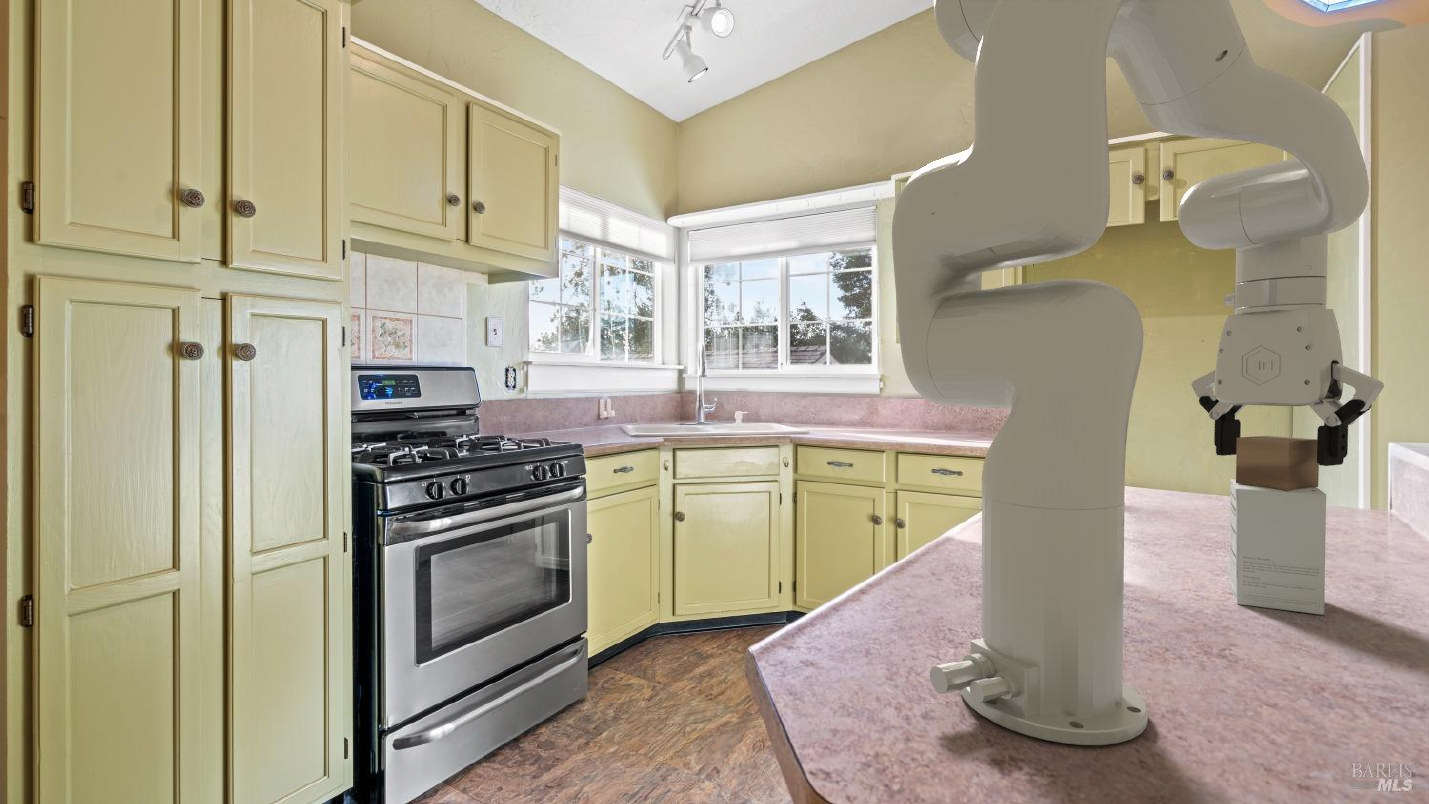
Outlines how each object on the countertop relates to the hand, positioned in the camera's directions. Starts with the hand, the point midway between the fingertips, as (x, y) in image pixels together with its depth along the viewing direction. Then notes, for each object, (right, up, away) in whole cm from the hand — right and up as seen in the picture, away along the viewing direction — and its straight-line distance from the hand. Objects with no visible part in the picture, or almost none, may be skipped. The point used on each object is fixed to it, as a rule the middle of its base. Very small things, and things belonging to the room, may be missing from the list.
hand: (1275, 459), depth 73 cm
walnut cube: (0, -3, 0) cm, 3 cm away
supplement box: (0, -16, +1) cm, 16 cm away
